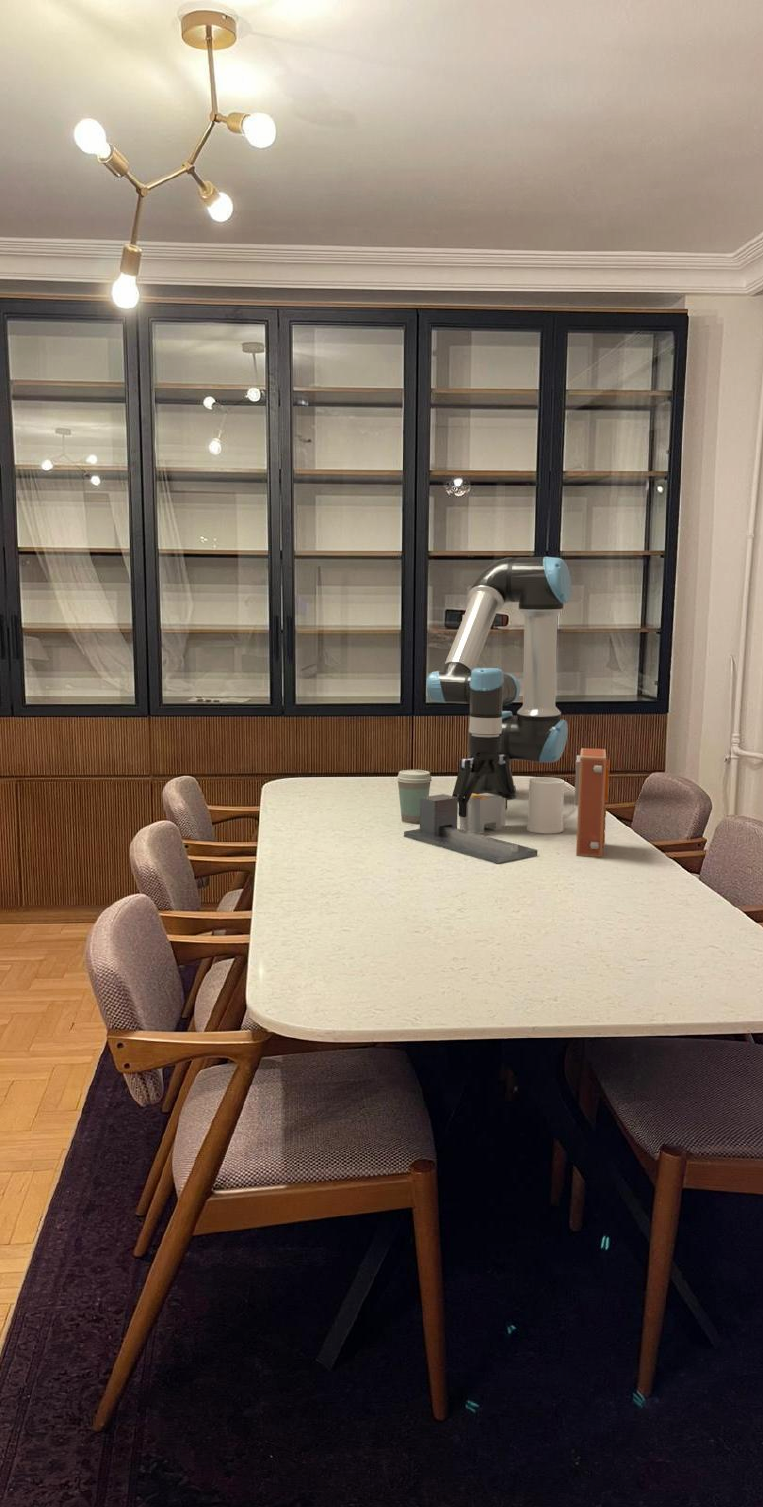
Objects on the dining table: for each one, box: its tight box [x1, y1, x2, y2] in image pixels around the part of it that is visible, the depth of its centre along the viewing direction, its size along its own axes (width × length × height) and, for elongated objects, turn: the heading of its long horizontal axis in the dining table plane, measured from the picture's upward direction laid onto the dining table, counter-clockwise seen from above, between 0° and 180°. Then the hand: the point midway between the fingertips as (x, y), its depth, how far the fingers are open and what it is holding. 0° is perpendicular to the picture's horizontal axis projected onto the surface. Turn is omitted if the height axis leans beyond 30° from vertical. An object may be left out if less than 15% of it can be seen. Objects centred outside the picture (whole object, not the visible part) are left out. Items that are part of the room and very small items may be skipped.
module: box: [468, 793, 502, 834], centre depth 245 cm, size 5×7×8 cm
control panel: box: [573, 747, 610, 858], centre depth 225 cm, size 21×7×15 cm
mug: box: [526, 776, 578, 835], centre depth 245 cm, size 12×8×12 cm
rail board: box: [403, 793, 538, 865], centre depth 228 cm, size 30×12×9 cm, turn 38°
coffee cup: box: [396, 769, 433, 824], centre depth 253 cm, size 8×8×12 cm
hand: (482, 827), depth 245 cm, fingers open, 11 cm apart
